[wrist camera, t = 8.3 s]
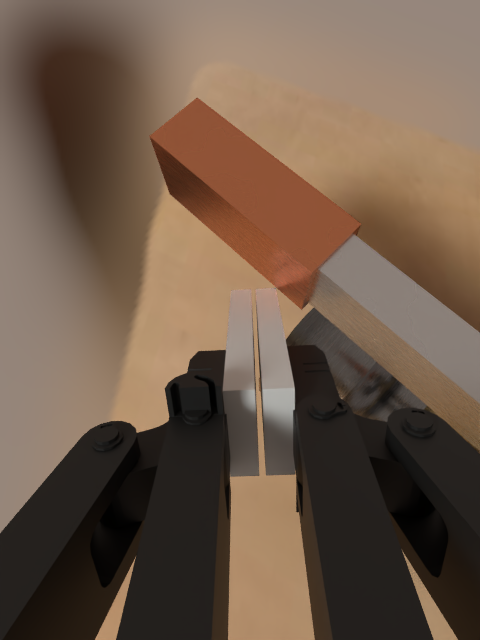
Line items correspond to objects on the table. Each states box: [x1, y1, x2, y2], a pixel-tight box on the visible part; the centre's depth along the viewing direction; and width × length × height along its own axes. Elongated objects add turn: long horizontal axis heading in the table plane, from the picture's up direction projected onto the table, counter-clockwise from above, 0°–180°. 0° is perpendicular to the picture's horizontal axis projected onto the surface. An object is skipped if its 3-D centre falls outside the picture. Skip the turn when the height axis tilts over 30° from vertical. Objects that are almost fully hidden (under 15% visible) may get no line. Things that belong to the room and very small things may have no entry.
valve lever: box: [150, 98, 480, 454], centre depth 13 cm, size 18×4×4 cm, turn 45°
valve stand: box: [259, 308, 479, 452], centre depth 18 cm, size 18×7×10 cm, turn 47°
